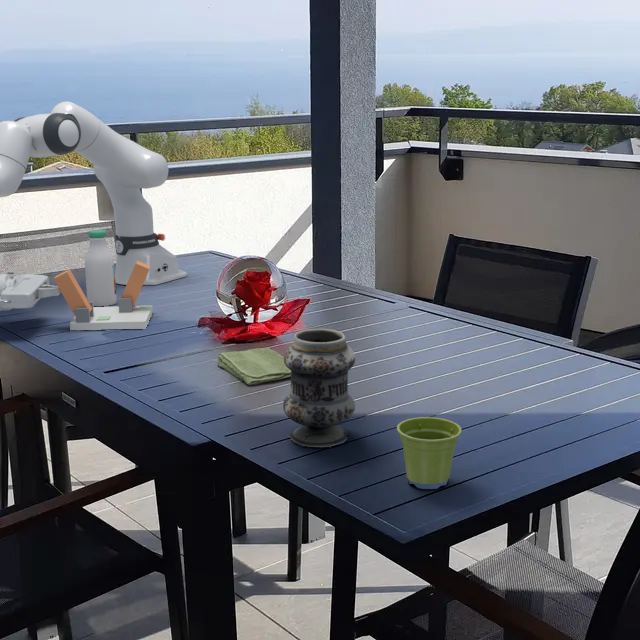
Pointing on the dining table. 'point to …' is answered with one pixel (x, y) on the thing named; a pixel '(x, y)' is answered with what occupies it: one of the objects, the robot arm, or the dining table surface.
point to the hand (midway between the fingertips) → (60, 290)
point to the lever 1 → (72, 291)
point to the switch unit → (112, 316)
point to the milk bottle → (100, 271)
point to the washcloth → (255, 365)
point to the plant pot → (428, 448)
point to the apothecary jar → (319, 386)
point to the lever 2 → (136, 281)
